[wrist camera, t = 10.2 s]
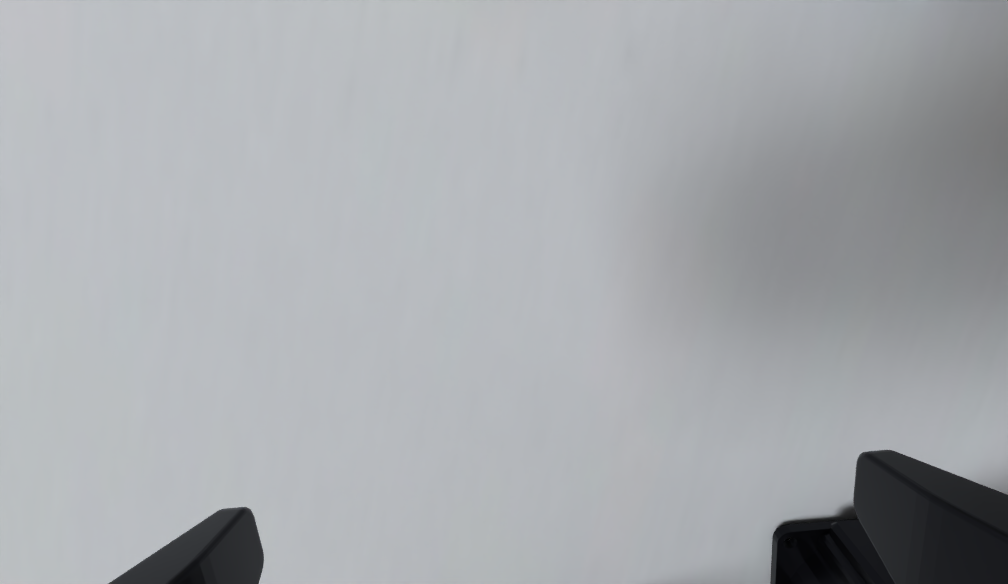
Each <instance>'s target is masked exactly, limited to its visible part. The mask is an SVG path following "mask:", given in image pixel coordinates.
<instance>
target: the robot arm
mask: <svg viewBox="0 0 1008 584" xmlns="http://www.w3.org/2000/svg"><path fill="white" fill-rule="evenodd" d="M854 508H855V512H856V514H857V517H858V519H850V520H838V521H826V522H815V523H803V524H791V525H784V526H781V527H779V528H777V529H776V531H775V532H774V534H773V541H772V563H771V584H1008V495H1007V494H1004V493H1001V492H999V491H996V490H994V489H991V488H988V487H986V486H983V485H981V484H978V483H976V482H973V481H970V480H968V479H965V478H963V477H960V476H957V475H955V474H952V473H950V472H947V471H944V470H942V469H939V468H937V467H934V466H931V465H929V464H926V463H924V462H921V461H918V460H916V459H913V458H911V457H908V456H906V455H903V454H900V453H898V452H895V451H892V450H880V451H869V452H863V453H862V454H860V455H859V457H858V460H857V466H856V476H855V487H854ZM790 537H791V539H790V540H788V541H785V540H786V539H787V538H790ZM263 563H264V555H263V549H262V545H261V541H260V537H259V534H258V530H257V526H256V522H255V518H254V515H253V513H252V511H251V510H250V509H249V508H247V507H239V508H227V509H221V510H219V511H217V512H216V513H214V514H213V515H211V516H210V517H208V518H207V519H205V520H204V521H202V522H201V523H199V524H198V525H196V526H195V527H193V528H192V529H190V530H189V531H187V532H186V533H184V534H183V535H181V536H179V537H178V538H176V539H175V540H173V541H172V542H170V543H169V544H167V545H166V546H164V547H163V548H161V549H160V550H158V551H157V552H155V553H154V554H152V555H151V556H149V557H148V558H146V559H145V560H143V561H142V562H140V563H139V564H137V565H136V566H134V567H133V568H131V569H130V570H128V571H127V572H125V573H124V574H122V575H121V576H119V577H118V578H116V579H115V580H113V581H112V582H110V583H109V584H259V580H260V577H261V573H262V569H263Z"/></svg>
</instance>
